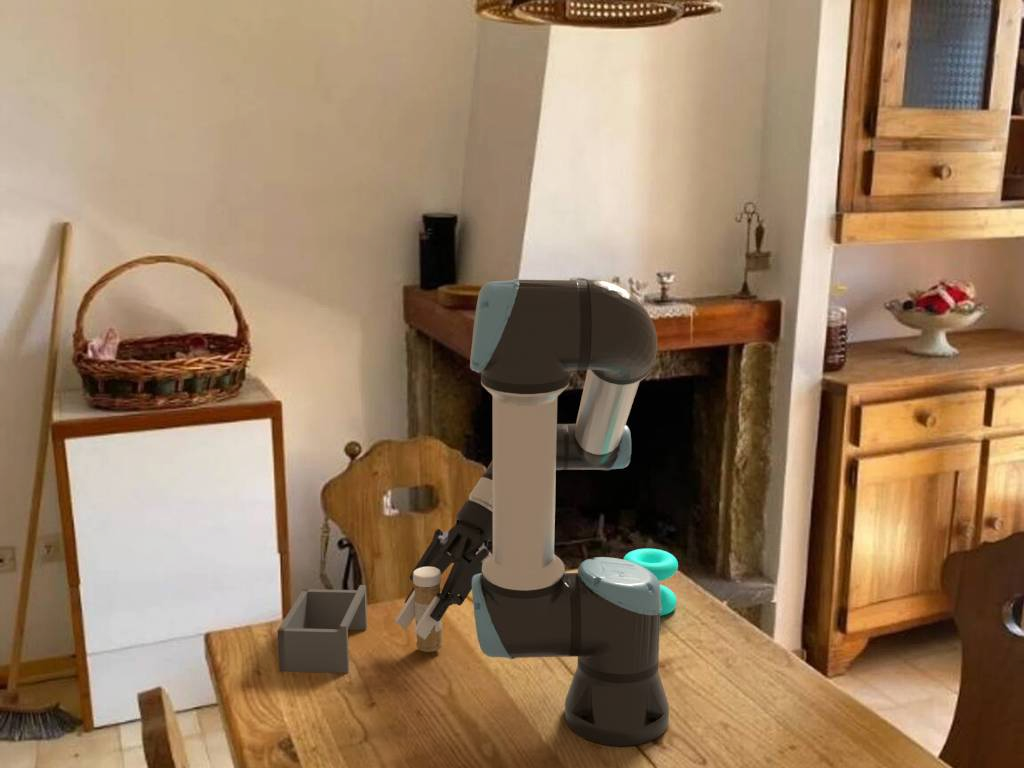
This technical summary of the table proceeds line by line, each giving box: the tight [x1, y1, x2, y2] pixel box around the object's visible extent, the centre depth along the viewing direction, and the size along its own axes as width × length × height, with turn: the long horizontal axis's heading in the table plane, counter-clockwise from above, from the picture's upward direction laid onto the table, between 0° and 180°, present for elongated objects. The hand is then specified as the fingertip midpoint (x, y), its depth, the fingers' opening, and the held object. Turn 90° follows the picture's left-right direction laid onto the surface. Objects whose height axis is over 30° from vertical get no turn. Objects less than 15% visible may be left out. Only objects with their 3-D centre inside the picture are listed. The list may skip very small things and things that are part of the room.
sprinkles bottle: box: [412, 567, 444, 653], centre depth 162 cm, size 5×5×13 cm
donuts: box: [623, 548, 679, 617], centre depth 179 cm, size 10×10×10 cm
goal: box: [276, 584, 368, 674], centre depth 164 cm, size 16×11×8 cm
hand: (409, 629), depth 160 cm, fingers closed on sprinkles bottle, 4 cm apart
